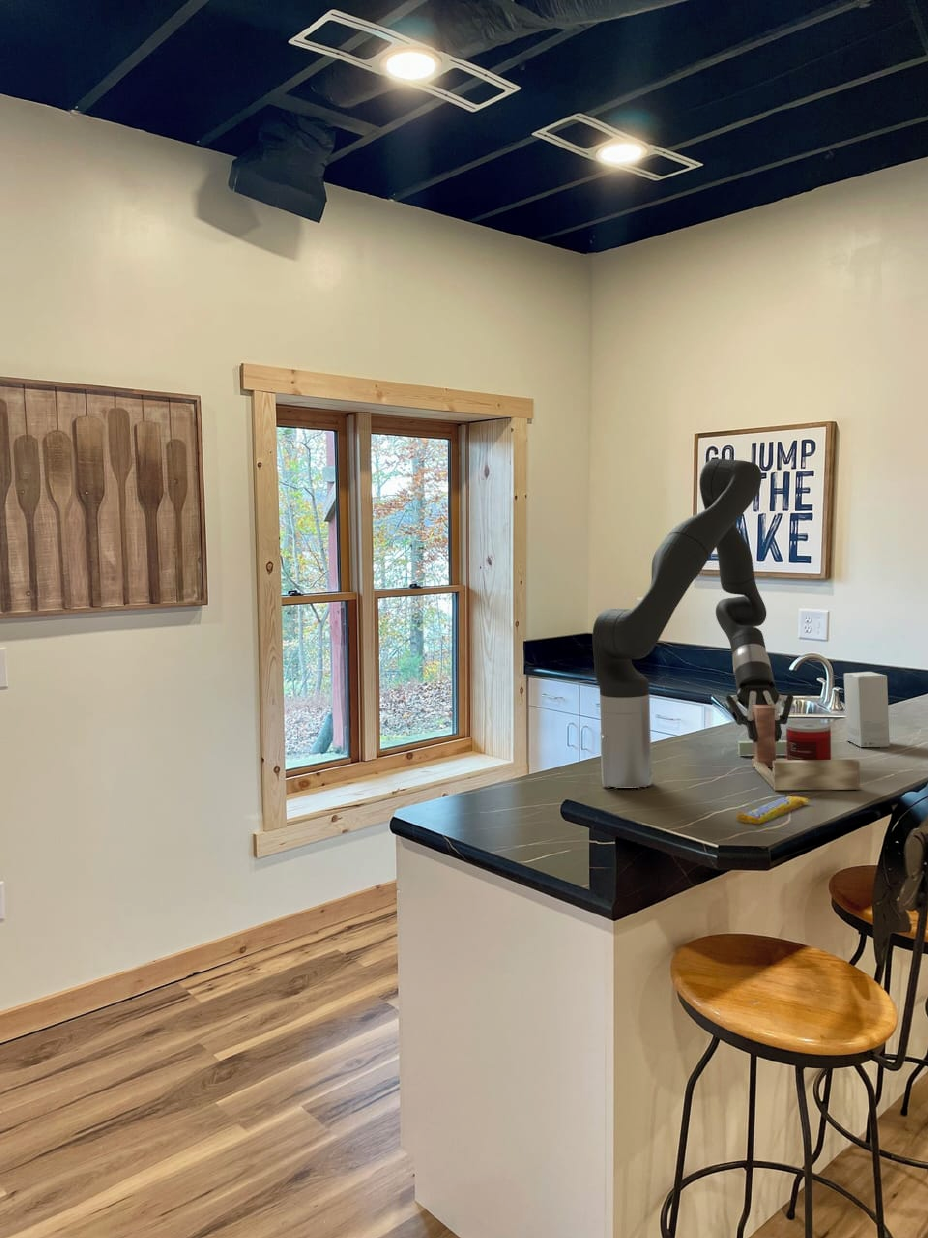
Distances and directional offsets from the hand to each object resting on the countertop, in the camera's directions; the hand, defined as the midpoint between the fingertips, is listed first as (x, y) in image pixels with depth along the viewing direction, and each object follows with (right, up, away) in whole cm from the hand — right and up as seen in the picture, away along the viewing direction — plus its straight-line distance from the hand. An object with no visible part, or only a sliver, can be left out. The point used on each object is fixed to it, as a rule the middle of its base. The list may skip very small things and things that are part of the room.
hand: (766, 739), depth 176 cm
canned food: (+4, -7, -11) cm, 14 cm away
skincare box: (+28, -4, +19) cm, 35 cm away
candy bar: (-9, -9, -28) cm, 31 cm away
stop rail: (+7, -5, +12) cm, 15 cm away
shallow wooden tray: (+4, -6, -7) cm, 10 cm away
